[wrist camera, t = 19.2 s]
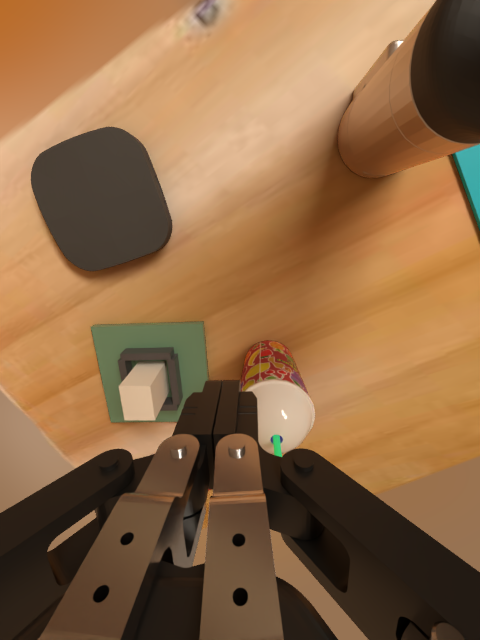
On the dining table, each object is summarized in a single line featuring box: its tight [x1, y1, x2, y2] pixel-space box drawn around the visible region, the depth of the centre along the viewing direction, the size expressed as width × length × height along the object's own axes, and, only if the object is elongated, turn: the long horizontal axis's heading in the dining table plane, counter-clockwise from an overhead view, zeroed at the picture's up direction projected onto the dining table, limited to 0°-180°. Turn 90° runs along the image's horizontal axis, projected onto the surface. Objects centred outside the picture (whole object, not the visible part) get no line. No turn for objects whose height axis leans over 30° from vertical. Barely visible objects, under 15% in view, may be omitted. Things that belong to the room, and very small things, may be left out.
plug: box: [119, 361, 169, 420], centre depth 42 cm, size 6×4×7 cm
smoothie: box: [240, 341, 315, 457], centre depth 35 cm, size 8×8×20 cm
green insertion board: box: [91, 321, 209, 422], centre depth 44 cm, size 16×16×3 cm
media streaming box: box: [31, 127, 172, 271], centre depth 38 cm, size 15×15×3 cm
